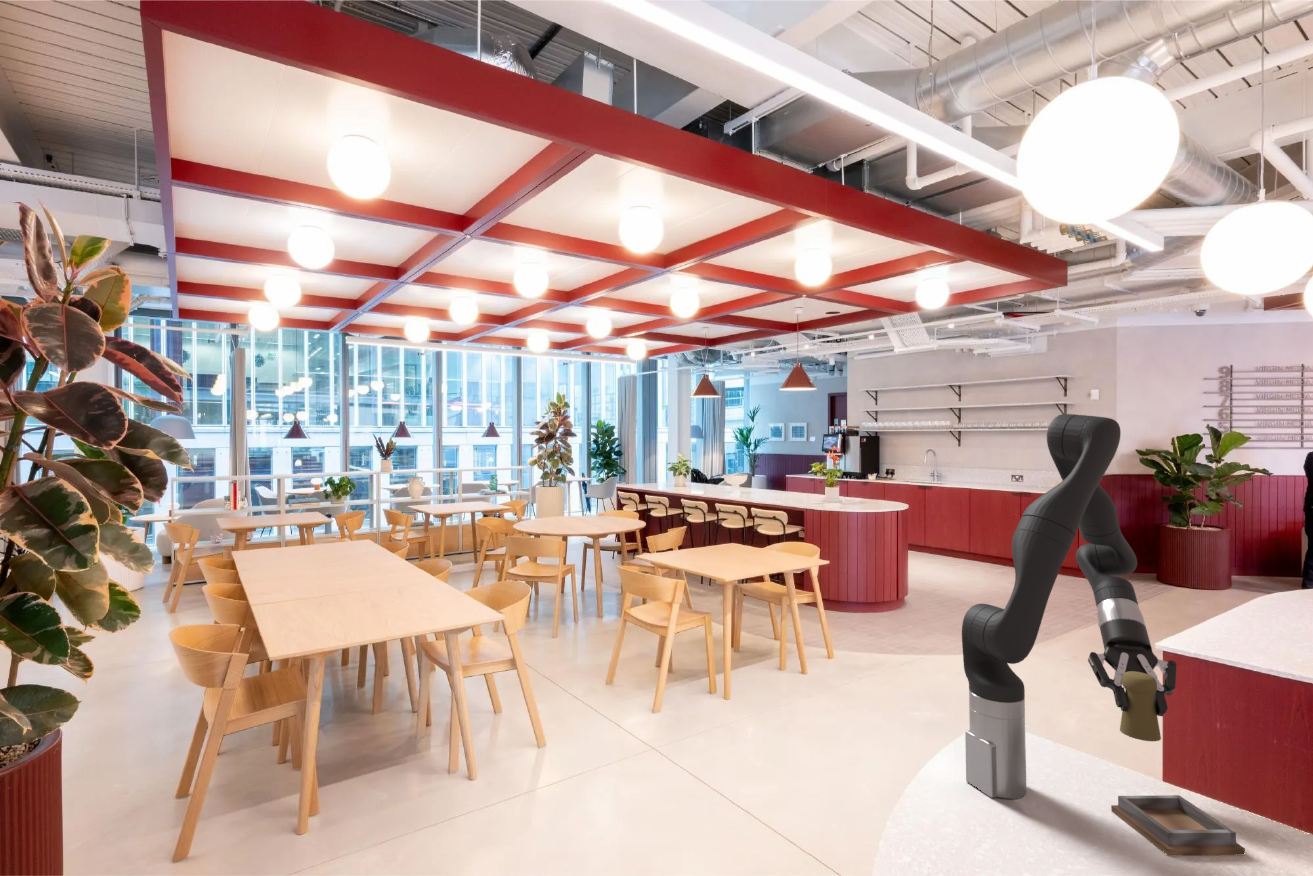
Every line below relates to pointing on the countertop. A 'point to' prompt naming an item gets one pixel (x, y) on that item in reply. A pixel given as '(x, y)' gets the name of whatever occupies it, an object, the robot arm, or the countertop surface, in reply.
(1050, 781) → the countertop surface
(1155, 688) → the cork
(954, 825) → the countertop surface
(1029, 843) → the countertop surface
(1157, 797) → the plate
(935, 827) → the countertop surface
